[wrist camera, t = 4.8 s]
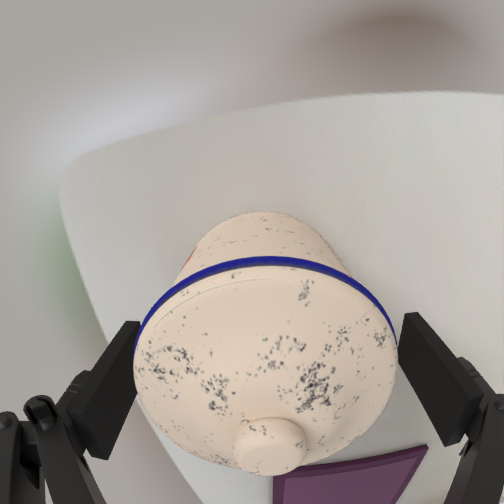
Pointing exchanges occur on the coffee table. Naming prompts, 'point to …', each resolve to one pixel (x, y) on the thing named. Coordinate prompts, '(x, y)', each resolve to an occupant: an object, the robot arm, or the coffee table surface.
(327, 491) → the place mat
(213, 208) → the coffee table surface
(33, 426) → the robot arm
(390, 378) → the teacup with lid
